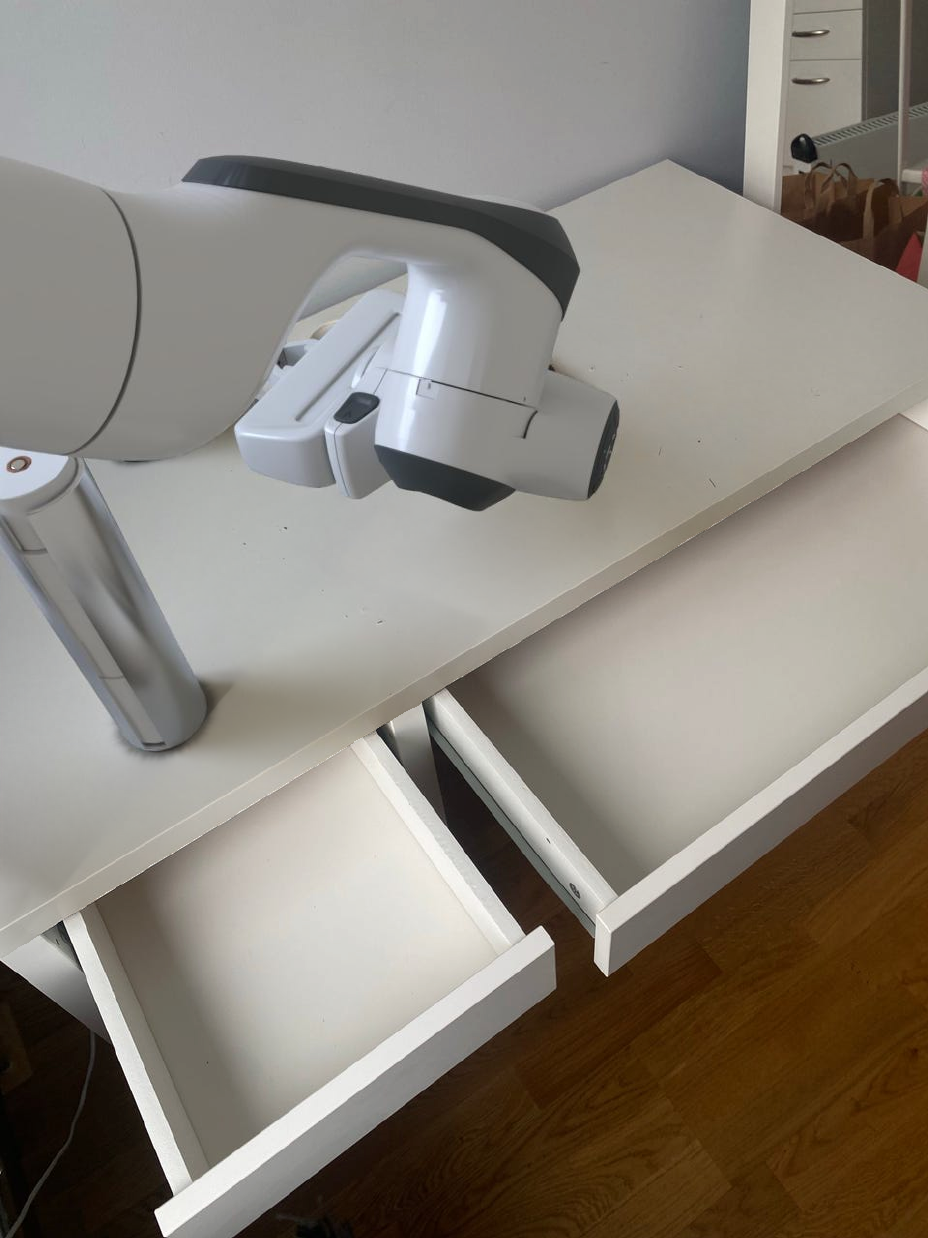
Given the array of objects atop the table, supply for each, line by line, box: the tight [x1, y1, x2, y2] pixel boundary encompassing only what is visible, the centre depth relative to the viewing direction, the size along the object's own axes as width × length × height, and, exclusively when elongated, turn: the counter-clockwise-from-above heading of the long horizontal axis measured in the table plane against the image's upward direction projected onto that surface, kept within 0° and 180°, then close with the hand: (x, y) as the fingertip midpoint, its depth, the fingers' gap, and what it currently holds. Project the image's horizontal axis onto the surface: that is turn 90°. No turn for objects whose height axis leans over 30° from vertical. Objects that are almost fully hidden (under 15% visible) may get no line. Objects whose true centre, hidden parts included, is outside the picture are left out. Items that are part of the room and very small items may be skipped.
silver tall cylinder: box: [0, 447, 208, 752], centre depth 61 cm, size 6×6×25 cm
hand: (261, 357), depth 75 cm, fingers closed
